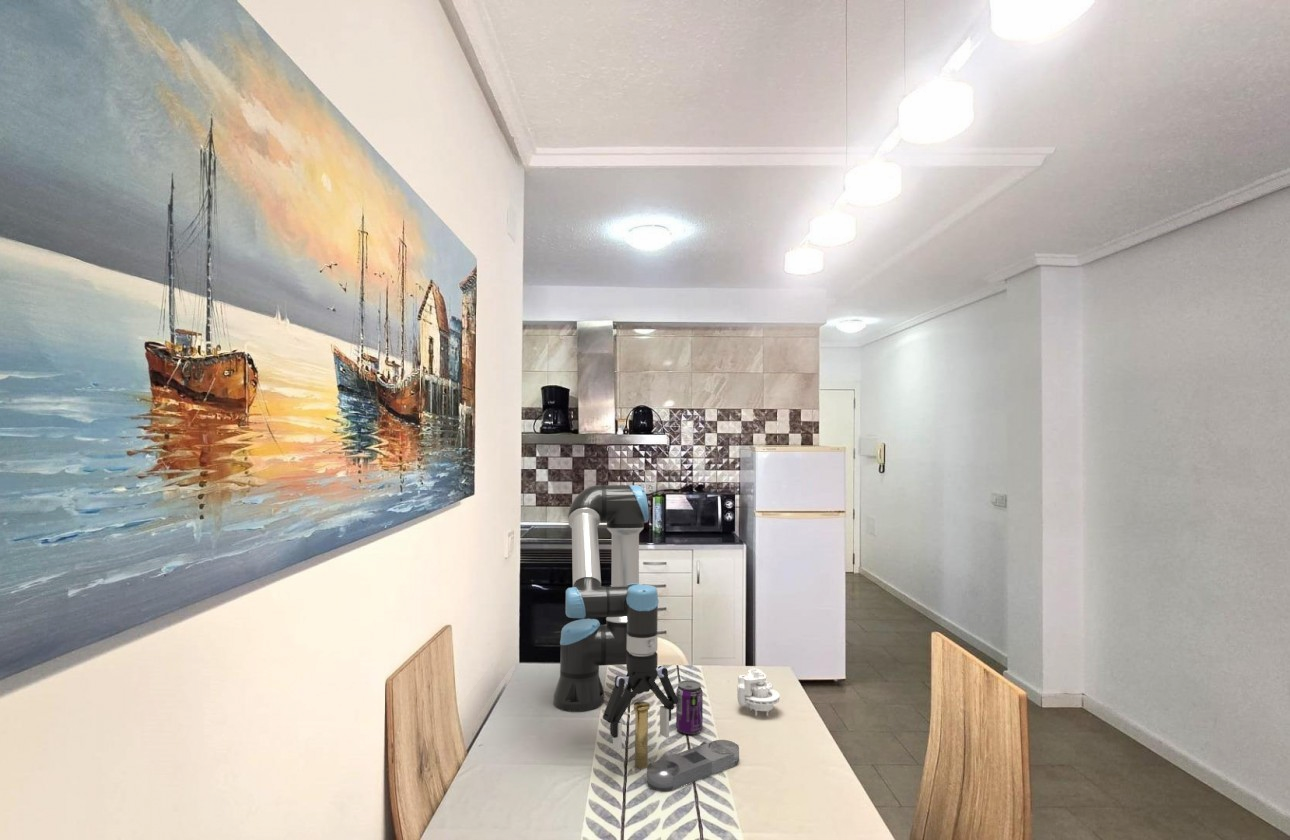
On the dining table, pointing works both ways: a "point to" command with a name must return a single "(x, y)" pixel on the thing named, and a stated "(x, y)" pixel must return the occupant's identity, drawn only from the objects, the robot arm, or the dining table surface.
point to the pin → (641, 734)
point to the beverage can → (689, 707)
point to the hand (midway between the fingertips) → (641, 742)
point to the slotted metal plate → (692, 765)
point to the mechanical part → (756, 691)
